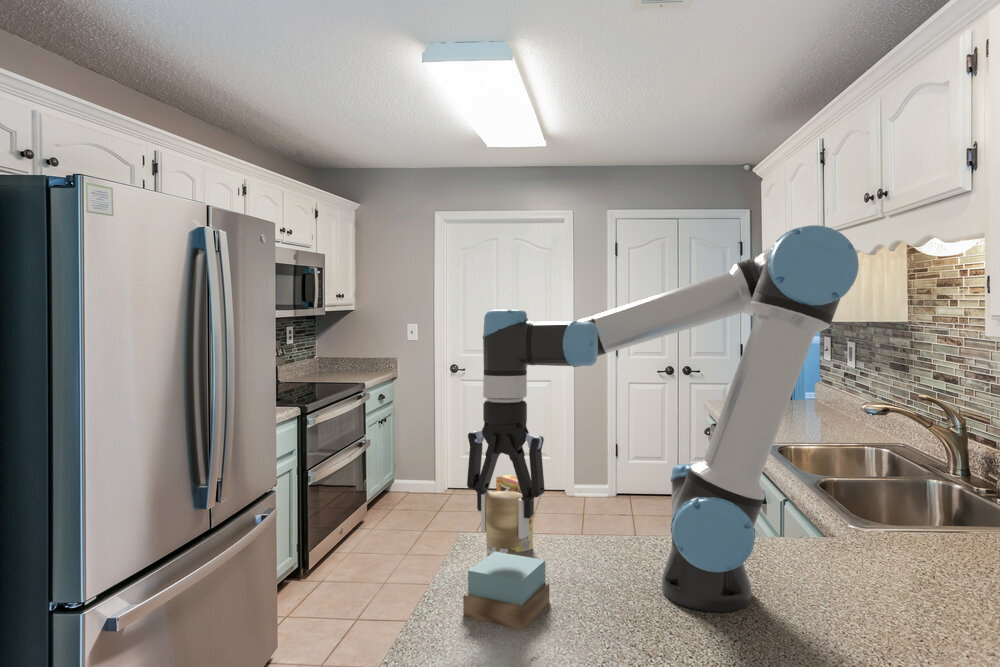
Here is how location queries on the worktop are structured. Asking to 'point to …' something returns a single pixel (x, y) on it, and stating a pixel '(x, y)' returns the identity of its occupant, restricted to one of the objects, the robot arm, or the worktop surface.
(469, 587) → the tower top
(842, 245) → the robot arm
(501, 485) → the candy box
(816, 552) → the worktop surface
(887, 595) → the worktop surface
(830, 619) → the worktop surface
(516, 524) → the beige piece
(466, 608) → the tower bottom
